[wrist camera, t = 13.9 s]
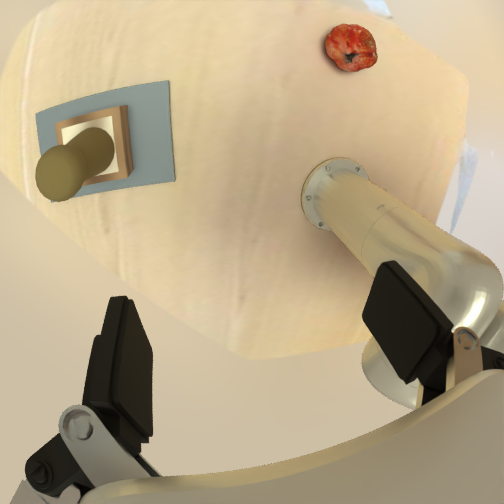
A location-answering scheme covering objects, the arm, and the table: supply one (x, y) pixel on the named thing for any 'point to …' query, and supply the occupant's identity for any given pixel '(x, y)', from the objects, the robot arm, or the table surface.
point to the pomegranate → (351, 47)
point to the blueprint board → (140, 127)
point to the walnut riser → (116, 128)
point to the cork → (74, 163)
